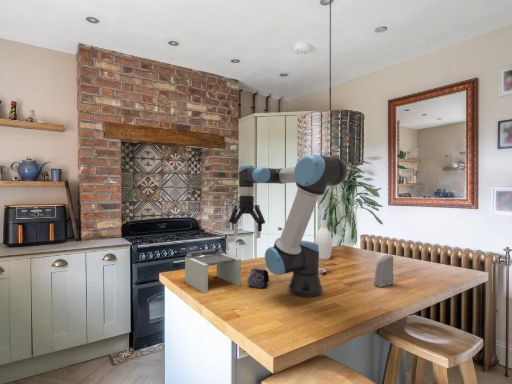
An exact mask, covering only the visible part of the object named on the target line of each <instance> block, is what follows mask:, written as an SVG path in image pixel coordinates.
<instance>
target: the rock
mask: <svg viewBox="0 0 512 384" xmlns="http://www.w3.org/2000/svg"><path fill="white" fill-rule="evenodd" d="M268 271H269V270H266V269H265V268H252V269H250V274H249V276H248V278H247V284H248V285H249V286H250V287H253V288H256V289H262V288H265V287H267V286H268V283H270V278H269V277H270V276H269V272H268Z"/></svg>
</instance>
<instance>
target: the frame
mask: <svg viewBox="0 0 512 384" xmlns="http://www.w3.org/2000/svg"><path fill="white" fill-rule="evenodd" d="M217 253H219V254H220V255H223V256H226V257H229V258H232V259H235V261H232V262H226V263H220V264H216V277H218V278H220V279H222V280H224V281H226V282H228V283H231V284H233V285H235V286H236V287H237V286H241V284H242V282H241V281H242V279H241V278H242V276H241V274H242V259H240V258H239V257H235V256H232V255H229V254H226V253H225V252H224V250H221V249H219V250H217ZM185 255H186V256H185V257H184V263H185V264H184V283H186V284H188V285H190V286H191V287H192V288H195V289H196V290H198V291H200V292H201V293H202V294H203V293H204V294H206V293H209V265H208V264H205V263H203V262H200V261H198V260H196V259H193V258H192V255H191V254H188V255H187V254H185Z"/></svg>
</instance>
